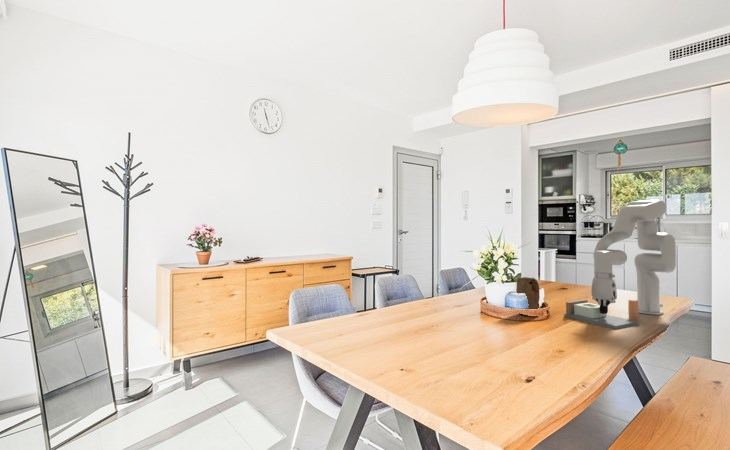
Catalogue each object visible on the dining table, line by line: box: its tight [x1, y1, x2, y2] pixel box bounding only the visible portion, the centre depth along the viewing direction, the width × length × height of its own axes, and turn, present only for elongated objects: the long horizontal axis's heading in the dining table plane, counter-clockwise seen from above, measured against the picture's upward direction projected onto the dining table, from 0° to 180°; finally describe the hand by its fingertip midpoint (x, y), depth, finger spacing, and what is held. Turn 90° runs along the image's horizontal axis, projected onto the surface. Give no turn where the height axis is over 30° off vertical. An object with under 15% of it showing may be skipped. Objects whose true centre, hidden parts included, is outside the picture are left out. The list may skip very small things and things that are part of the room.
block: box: [516, 276, 541, 309], centre depth 199 cm, size 11×8×20 cm
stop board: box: [563, 299, 639, 330], centre depth 186 cm, size 17×26×8 cm, turn 24°
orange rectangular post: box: [627, 299, 640, 323], centre depth 184 cm, size 4×4×10 cm
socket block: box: [574, 302, 607, 319], centre depth 191 cm, size 10×10×5 cm
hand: (603, 313), depth 184 cm, fingers closed
